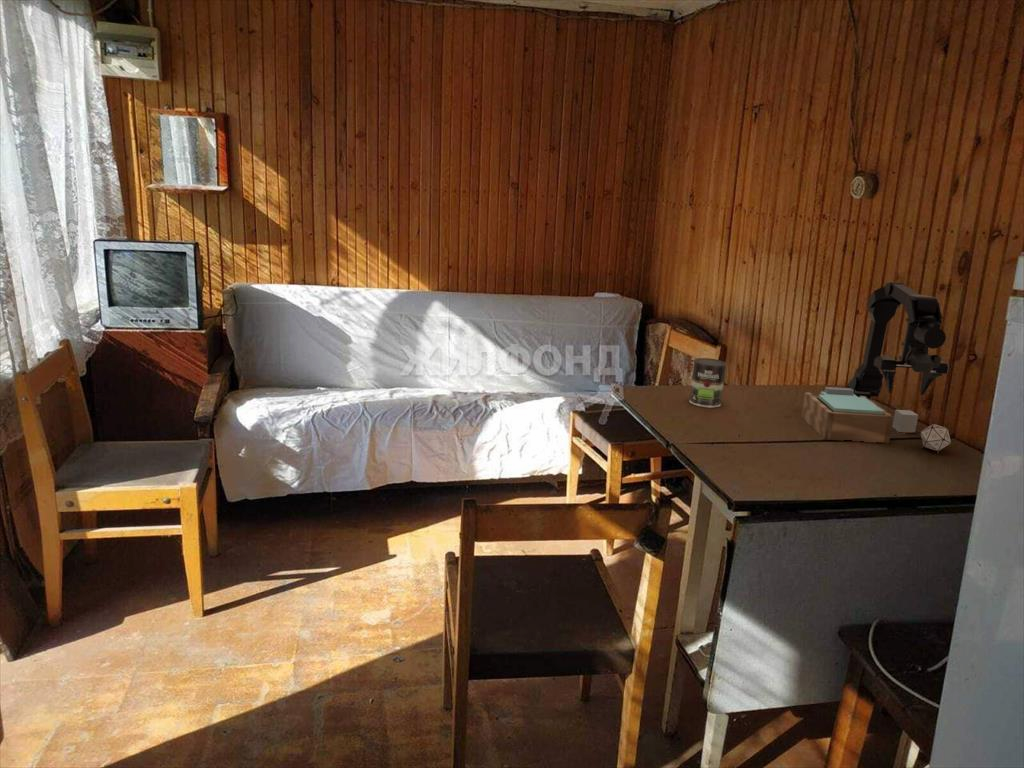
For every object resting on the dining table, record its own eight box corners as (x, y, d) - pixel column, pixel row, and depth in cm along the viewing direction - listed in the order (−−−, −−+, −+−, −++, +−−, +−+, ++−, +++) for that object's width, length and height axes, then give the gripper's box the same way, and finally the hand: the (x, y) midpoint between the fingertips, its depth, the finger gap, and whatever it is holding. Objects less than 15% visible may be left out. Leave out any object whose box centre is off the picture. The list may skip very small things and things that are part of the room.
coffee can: (720, 409, 251) (726, 367, 247) (687, 405, 254) (692, 363, 250) (721, 401, 261) (727, 360, 257) (690, 397, 263) (695, 356, 260)
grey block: (891, 428, 242) (895, 409, 240) (907, 429, 241) (911, 410, 240) (898, 433, 237) (902, 414, 235) (914, 434, 237) (918, 415, 235)
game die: (924, 460, 226) (919, 427, 229) (957, 456, 221) (952, 423, 225) (918, 452, 219) (913, 418, 223) (953, 448, 214) (947, 413, 218)
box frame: (801, 416, 248) (805, 392, 246) (860, 420, 248) (864, 396, 246) (824, 439, 227) (828, 413, 225) (888, 443, 227) (893, 417, 225)
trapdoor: (814, 394, 245) (815, 386, 244) (859, 396, 244) (860, 388, 243) (834, 411, 227) (835, 402, 226) (883, 414, 227) (884, 405, 226)
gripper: (894, 345, 213) (884, 399, 217) (964, 349, 212) (952, 404, 217) (877, 336, 224) (868, 388, 228) (943, 340, 223) (933, 392, 227)
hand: (905, 393), depth 225 cm, fingers open, 9 cm apart
